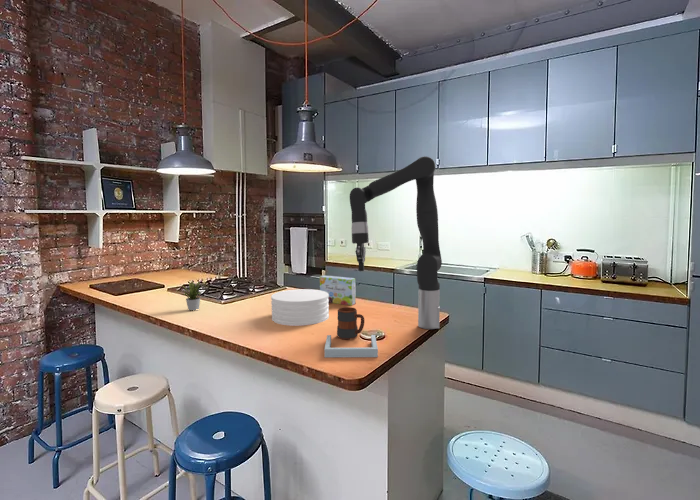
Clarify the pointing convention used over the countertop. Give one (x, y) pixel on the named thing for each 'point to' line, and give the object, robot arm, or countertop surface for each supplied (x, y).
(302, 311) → the plate stack
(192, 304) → the house plant
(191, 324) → the countertop surface
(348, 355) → the dock bay
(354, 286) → the snack box
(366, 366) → the countertop surface
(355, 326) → the mug
